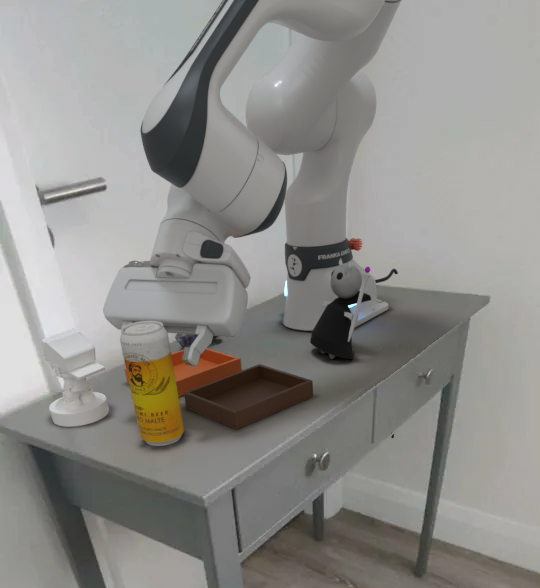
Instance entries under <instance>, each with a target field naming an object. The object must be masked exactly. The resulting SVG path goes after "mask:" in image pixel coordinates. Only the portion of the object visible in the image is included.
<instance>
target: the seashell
mask: <svg viewBox="0 0 540 588" xmlns="http://www.w3.org/2000/svg"><path fill="white" fill-rule="evenodd" d="M219 337H220V336H213V339H212V341H214V340H216V339H218V338H219ZM196 338H197V335H194V334H178V333H175V336H174V339H175V340H176V342H177V343H178V344H179V345H180V347H182V348H184V347H190V346H191V344H192V343H193V342H194V340H195V339H196Z"/></svg>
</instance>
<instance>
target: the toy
mask: <svg viewBox="0 0 540 588" xmlns="http://www.w3.org/2000/svg"><path fill="white" fill-rule="evenodd" d="M364 269H365V272H366V273H370V272H371V266H366V267H365V268H364ZM362 277H363V283H362ZM362 277H361V273H360V271H359V270H358V269H357V268H356V267H355V266H354V265H352V264H351V262H350V263H349V264H343V263H342V260H341V258H340V260H339V266H338V267H337V268H336V269H335V270H334V271H333V272H332V274H331V288H332V291H333V292H334V294H335V295H337V296H338V298H336V299H335V300H334V301H333V302H330V301H325V300H324V303H323V306H325V307H326V308H325V310H324V312H323V313H322V315H321V317H320V319H319V320H318V322H317V324H316V325H315V327H314V329H313V331H311V334H310V340H309V343H310V344H311V345H312V346H314V347H315V348H316V349H318V350H320V353H321V354H325V353H326V354H328V356H329V359H332V360H334V358H335V357H338V358H341V359H347V360H353V359H354V358H355V356H354V349H353V342H352V341H353V339H352V337H353V336H352V335H353V333H354V330H355V328H356V327H355V323H356V321H357V320H358V312H359V308H360V305H361V302H365V301H370V300H371V296H370V295H368V294H365V293H364V290H365V286H366V283H367V281H368V279H369V278H370V276H369V275H365V274H362ZM361 284H362V286H361ZM360 287H361V290H360ZM359 290H360V291H359ZM353 304H357V305H356V309H355V312H354V314H351V311H350V309H349V306H348V305H353ZM351 320H352V324H351ZM354 327H355V328H354Z"/></svg>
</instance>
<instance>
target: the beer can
mask: <svg viewBox="0 0 540 588" xmlns="http://www.w3.org/2000/svg"><path fill="white" fill-rule="evenodd" d="M120 331H121V332H120V336H119V342H120V348H121V351H122V352H123V354H122V357H123V362H124V366H125V369H126V371H127V375H128V380H129V384H130V385H129V384H128V385H129V389H130V393H131V399H132V403H133V407H134V411H135V416H136V421H137V425H138V426H137V427H138V430H139V435H140V439H141V440H143V441H144V442H145V443H146V445H147V444H148V445H150V446H152V447H164V446H169V445H172V444H175V443H177V442H178V441H179V440H180V439H181V438H182V435H183V433H184V432H185V428H184V427H185V426H184V421H183V416H182V410H181V404H180V397H178V391H177V385H176V380H175V374H174V368H173V362H172V356H171V353H172V351H171V345H170V340H169V339H170V337H169V333H167V331H166V330H165V328H164V327H163V324H162V323H161V322H158V321H141V322H135V323H131V324H128V325H126V326H124V327H123V328H122V329H121V330H120Z"/></svg>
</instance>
